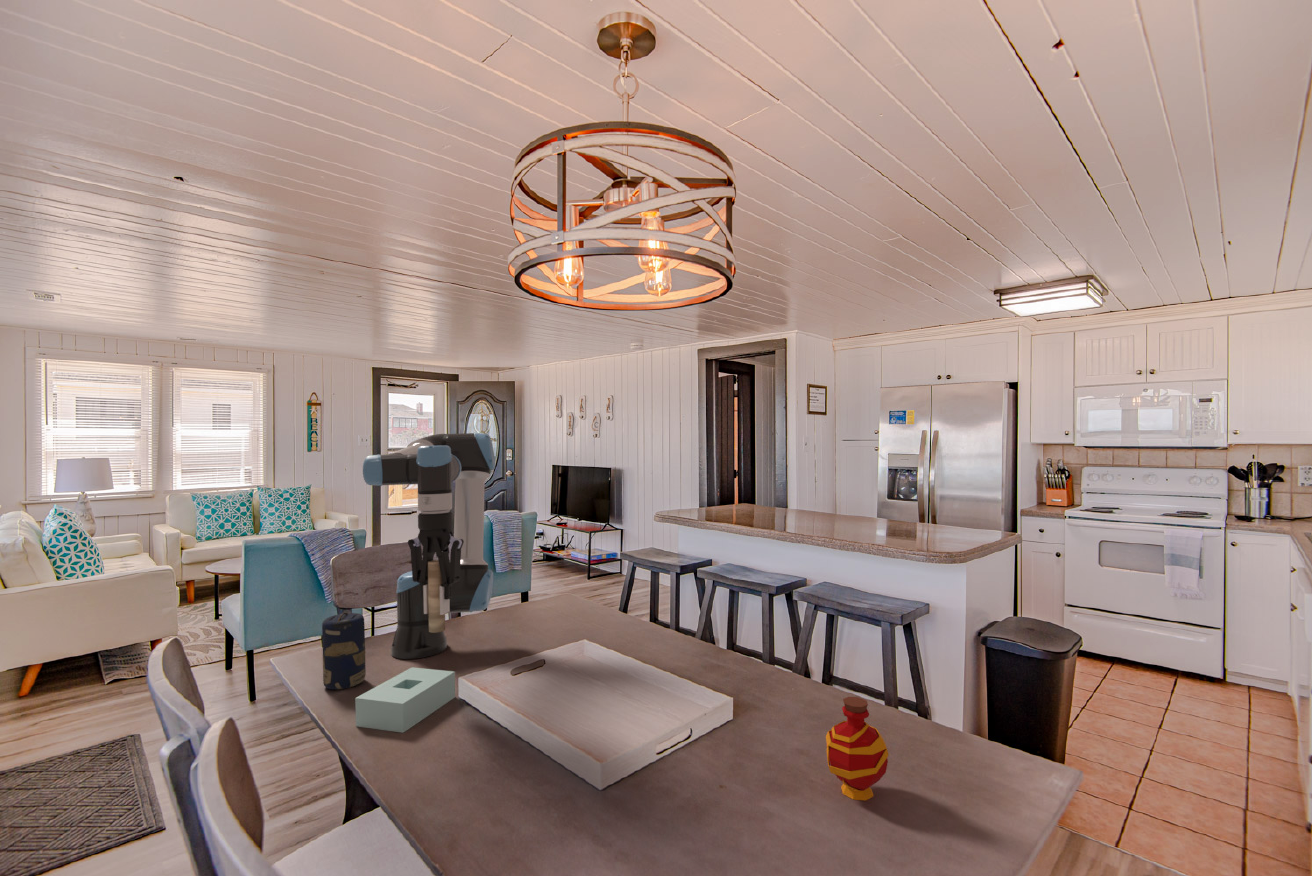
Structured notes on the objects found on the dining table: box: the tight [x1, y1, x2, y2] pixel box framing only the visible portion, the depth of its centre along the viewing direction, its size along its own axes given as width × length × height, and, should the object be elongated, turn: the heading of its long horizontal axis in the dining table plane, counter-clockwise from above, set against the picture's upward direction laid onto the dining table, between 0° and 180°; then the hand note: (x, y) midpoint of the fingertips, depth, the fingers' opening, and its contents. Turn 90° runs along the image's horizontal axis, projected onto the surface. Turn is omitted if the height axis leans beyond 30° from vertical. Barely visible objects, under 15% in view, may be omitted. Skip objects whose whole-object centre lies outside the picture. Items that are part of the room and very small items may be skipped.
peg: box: [428, 559, 446, 633], centre depth 140 cm, size 4×4×16 cm
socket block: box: [354, 667, 456, 734], centre depth 135 cm, size 18×12×6 cm, turn 164°
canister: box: [321, 611, 367, 690], centre depth 151 cm, size 10×10×18 cm
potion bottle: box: [825, 696, 890, 801], centre depth 101 cm, size 10×10×15 cm
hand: (436, 612), depth 140 cm, fingers closed on peg, 3 cm apart
